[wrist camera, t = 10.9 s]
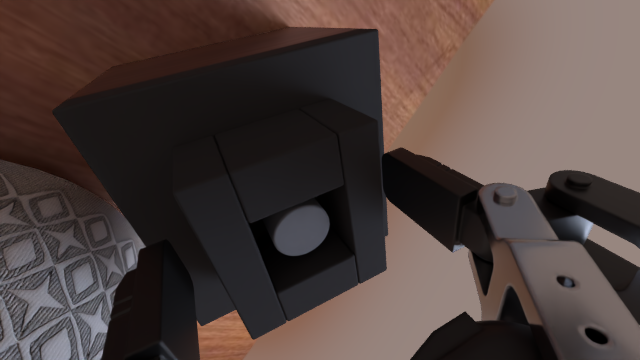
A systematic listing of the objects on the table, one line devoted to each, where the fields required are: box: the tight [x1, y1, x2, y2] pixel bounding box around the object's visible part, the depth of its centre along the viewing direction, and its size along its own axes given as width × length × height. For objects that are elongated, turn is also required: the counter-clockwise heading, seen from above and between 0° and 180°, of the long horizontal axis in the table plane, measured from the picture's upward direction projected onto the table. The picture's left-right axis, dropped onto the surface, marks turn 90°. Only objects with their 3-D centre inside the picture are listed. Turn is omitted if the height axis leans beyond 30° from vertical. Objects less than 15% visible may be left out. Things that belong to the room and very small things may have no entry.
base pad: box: [52, 29, 388, 326], centre depth 11 cm, size 10×10×4 cm
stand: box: [67, 27, 357, 100], centre depth 15 cm, size 10×10×8 cm
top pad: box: [172, 99, 387, 339], centre depth 10 cm, size 6×6×3 cm
